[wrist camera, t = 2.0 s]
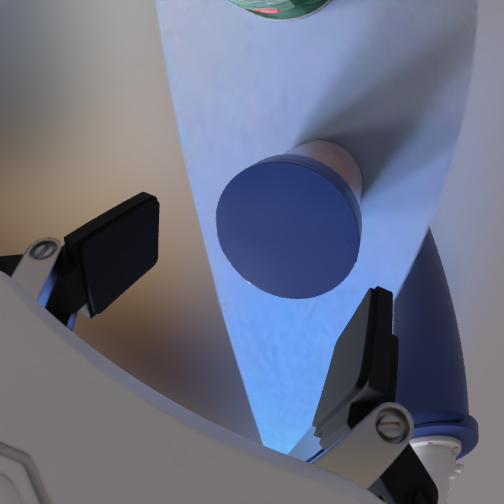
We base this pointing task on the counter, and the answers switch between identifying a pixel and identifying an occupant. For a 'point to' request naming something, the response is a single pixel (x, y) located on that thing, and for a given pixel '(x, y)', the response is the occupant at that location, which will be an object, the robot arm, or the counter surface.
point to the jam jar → (334, 161)
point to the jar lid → (290, 226)
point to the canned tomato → (282, 8)
